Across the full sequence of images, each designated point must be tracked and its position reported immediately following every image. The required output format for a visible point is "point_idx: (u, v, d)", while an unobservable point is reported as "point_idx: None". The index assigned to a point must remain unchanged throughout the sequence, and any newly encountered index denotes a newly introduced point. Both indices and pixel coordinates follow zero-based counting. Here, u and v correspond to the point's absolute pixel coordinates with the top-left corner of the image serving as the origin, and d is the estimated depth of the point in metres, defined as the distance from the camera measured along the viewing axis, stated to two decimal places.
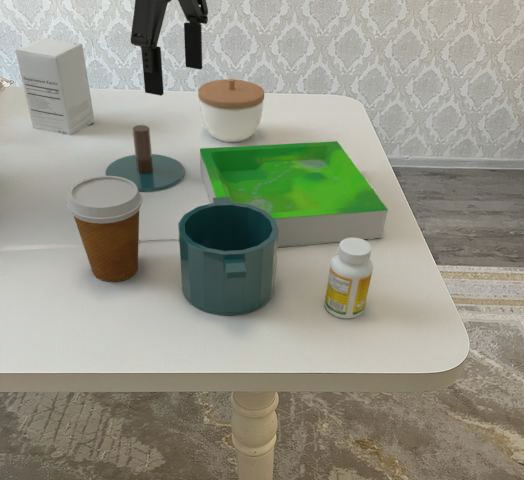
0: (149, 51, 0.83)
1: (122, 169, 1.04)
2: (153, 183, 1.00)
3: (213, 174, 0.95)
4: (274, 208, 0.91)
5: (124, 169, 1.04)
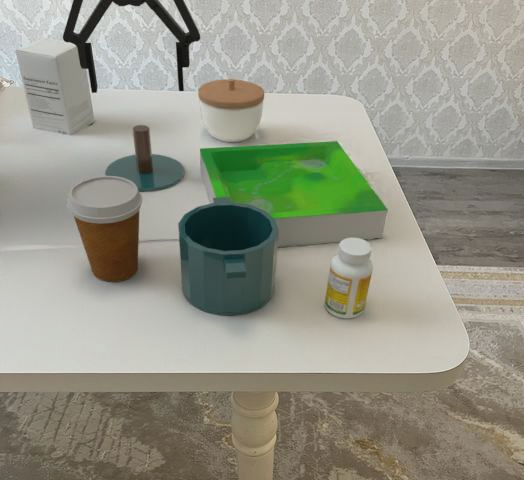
0: (77, 48, 0.89)
1: (122, 169, 1.04)
2: (153, 183, 1.00)
3: (213, 174, 0.95)
4: (274, 208, 0.91)
5: (124, 169, 1.04)
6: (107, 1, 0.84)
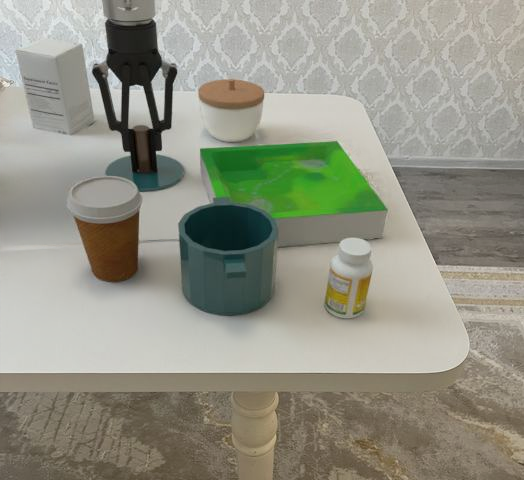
0: (121, 134, 0.98)
1: (122, 169, 1.04)
2: (153, 183, 1.00)
3: (213, 174, 0.95)
4: (274, 208, 0.91)
5: (124, 169, 1.04)
6: (126, 86, 0.92)
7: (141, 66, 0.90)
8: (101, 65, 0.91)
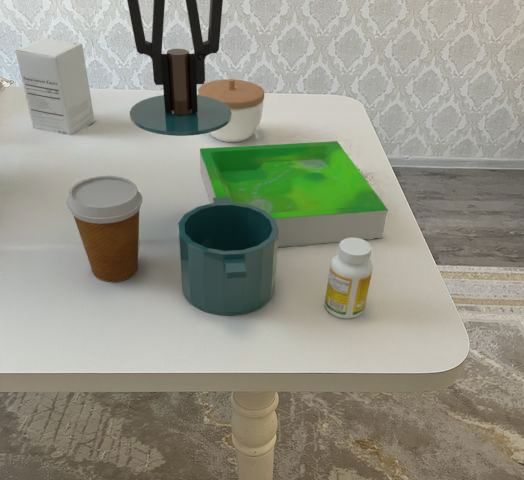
0: (152, 60, 0.74)
1: (151, 110, 0.79)
2: (194, 126, 0.76)
3: (213, 174, 0.95)
4: (274, 208, 0.91)
5: (154, 110, 0.79)
6: None
7: None
8: None
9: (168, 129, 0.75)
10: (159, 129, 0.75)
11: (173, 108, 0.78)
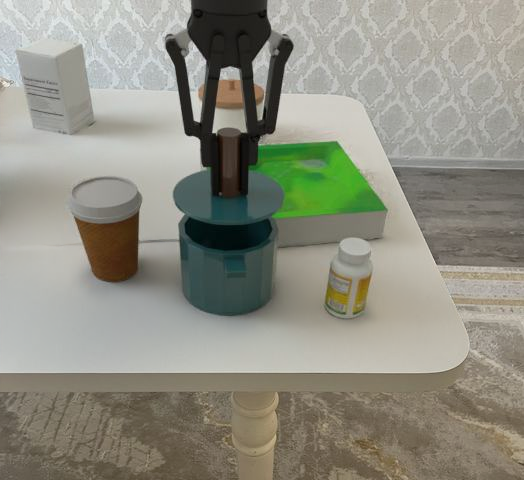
0: (200, 142, 0.66)
1: (196, 191, 0.72)
2: (246, 213, 0.68)
3: None
4: None
5: (199, 191, 0.72)
6: (215, 69, 0.60)
7: (242, 37, 0.59)
8: (179, 36, 0.59)
9: (217, 217, 0.67)
10: (207, 217, 0.67)
11: (221, 190, 0.70)
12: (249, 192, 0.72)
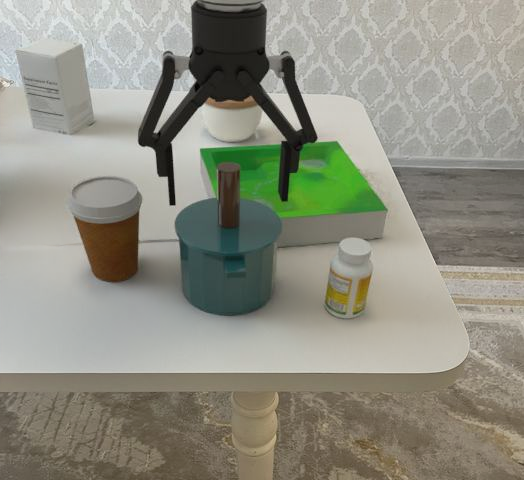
0: (155, 152, 0.67)
1: (197, 221, 0.75)
2: (245, 244, 0.71)
3: (213, 174, 0.95)
4: (274, 208, 0.91)
5: (200, 221, 0.75)
6: (202, 97, 0.62)
7: (239, 74, 0.61)
8: (180, 59, 0.61)
9: (217, 248, 0.70)
10: (208, 249, 0.70)
11: (221, 221, 0.73)
12: (248, 222, 0.75)
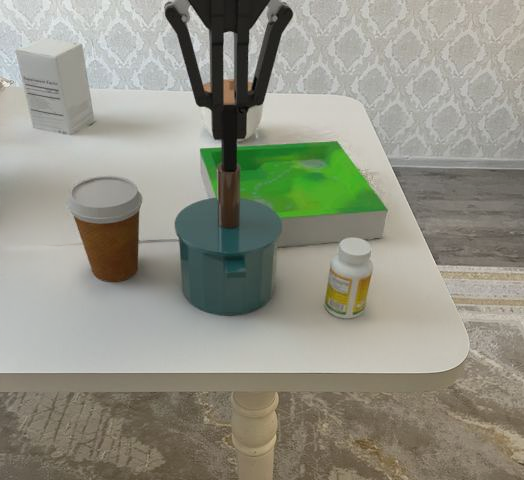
0: (212, 113, 0.65)
1: (197, 221, 0.75)
2: (245, 244, 0.71)
3: (213, 174, 0.95)
4: (274, 208, 0.91)
5: (200, 221, 0.75)
6: (218, 33, 0.58)
7: None
8: (178, 2, 0.57)
9: (217, 248, 0.70)
10: (208, 249, 0.70)
11: (221, 221, 0.73)
12: (248, 222, 0.75)
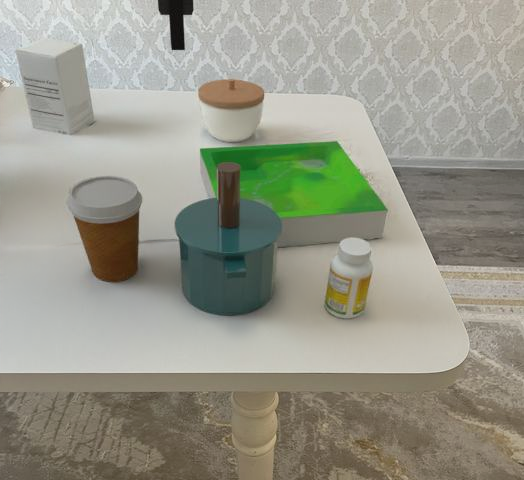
0: None
1: (197, 221, 0.75)
2: (245, 244, 0.71)
3: (213, 174, 0.95)
4: (274, 208, 0.91)
5: (200, 221, 0.75)
6: None
7: None
8: None
9: (217, 248, 0.70)
10: (208, 249, 0.70)
11: (221, 221, 0.73)
12: (248, 222, 0.75)
